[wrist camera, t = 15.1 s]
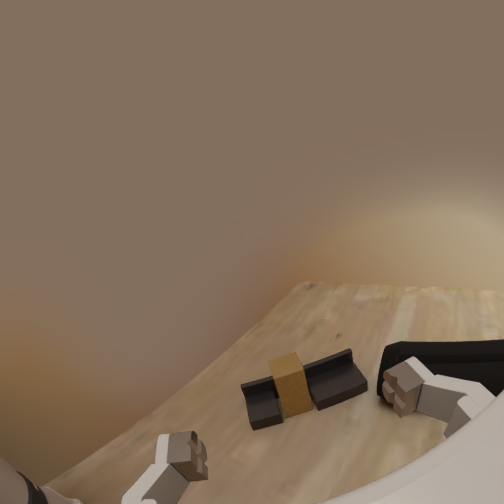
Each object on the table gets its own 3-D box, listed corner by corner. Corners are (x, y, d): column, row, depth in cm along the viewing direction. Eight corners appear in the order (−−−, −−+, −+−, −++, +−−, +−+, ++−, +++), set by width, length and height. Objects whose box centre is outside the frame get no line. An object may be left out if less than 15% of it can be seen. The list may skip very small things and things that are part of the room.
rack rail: (367, 390, 39) (367, 371, 38) (253, 430, 38) (245, 413, 36) (351, 367, 46) (349, 348, 44) (248, 402, 44) (240, 384, 43)
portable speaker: (511, 369, 26) (527, 323, 24) (516, 412, 19) (539, 367, 16) (387, 370, 42) (388, 327, 39) (373, 412, 34) (375, 371, 31)
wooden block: (286, 418, 39) (273, 379, 36) (280, 400, 43) (267, 360, 40) (312, 409, 39) (303, 369, 36) (304, 392, 43) (295, 352, 41)
